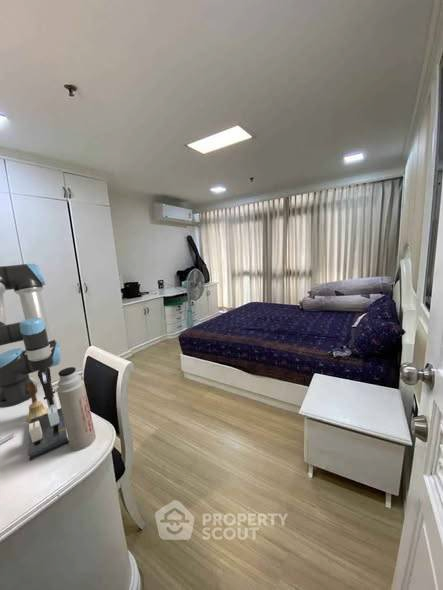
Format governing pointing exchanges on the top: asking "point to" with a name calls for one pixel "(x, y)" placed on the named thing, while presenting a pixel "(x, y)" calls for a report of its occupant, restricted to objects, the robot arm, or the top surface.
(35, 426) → the fader
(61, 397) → the thermos bottle
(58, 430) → the console
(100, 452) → the top surface
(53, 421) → the fader
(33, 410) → the hand bell
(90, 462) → the top surface
